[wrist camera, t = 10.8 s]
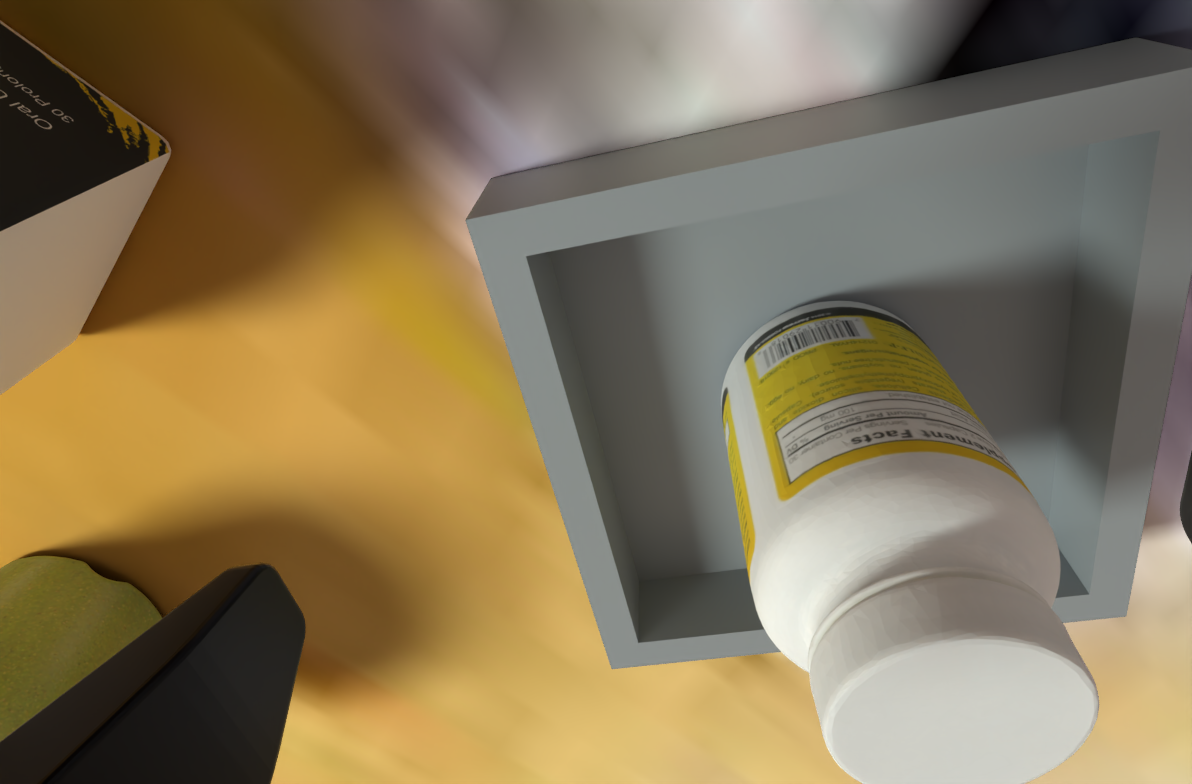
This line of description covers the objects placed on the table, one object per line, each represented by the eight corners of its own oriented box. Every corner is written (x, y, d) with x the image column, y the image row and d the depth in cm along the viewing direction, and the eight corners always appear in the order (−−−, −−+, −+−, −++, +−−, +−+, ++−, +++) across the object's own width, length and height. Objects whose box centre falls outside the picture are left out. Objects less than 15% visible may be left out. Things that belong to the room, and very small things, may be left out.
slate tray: (491, 178, 18) (465, 220, 15) (1136, 37, 15) (1233, 58, 13) (615, 593, 25) (611, 668, 22) (1071, 538, 23) (1126, 616, 20)
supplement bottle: (852, 496, 21) (982, 859, 13) (683, 426, 20) (707, 768, 12) (979, 346, 19) (1244, 682, 10) (790, 257, 18) (915, 549, 9)
